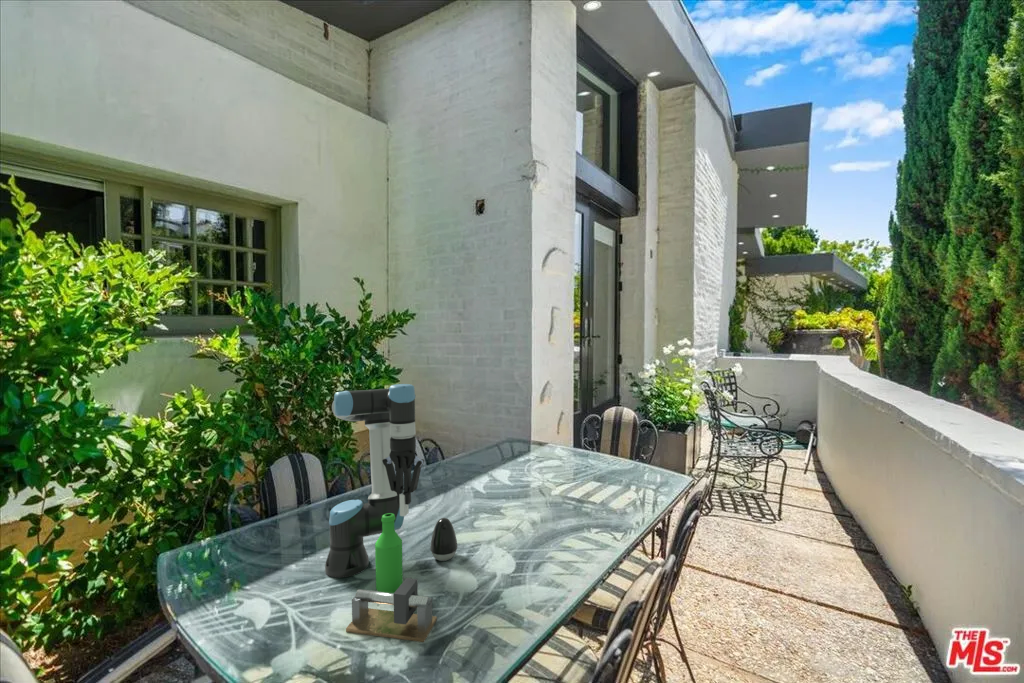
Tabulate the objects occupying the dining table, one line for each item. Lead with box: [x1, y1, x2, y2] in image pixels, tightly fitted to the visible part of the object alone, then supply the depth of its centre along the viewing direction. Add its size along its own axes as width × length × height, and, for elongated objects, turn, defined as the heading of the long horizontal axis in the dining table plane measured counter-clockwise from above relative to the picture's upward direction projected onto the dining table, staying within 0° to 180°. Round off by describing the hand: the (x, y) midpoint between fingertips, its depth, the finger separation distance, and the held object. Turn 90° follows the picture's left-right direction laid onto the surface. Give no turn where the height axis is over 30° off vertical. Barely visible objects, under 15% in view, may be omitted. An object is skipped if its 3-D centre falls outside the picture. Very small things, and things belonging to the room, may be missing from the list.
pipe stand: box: [345, 588, 438, 643], centre depth 133 cm, size 24×10×10 cm, turn 78°
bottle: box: [374, 513, 404, 593], centre depth 152 cm, size 9×9×25 cm
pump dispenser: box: [429, 517, 458, 562], centre depth 173 cm, size 10×10×15 cm
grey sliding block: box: [393, 577, 419, 624], centre depth 132 cm, size 4×8×8 cm, turn 168°
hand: (404, 514), depth 135 cm, fingers closed
